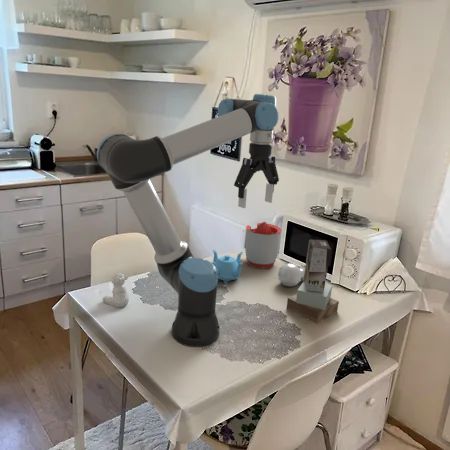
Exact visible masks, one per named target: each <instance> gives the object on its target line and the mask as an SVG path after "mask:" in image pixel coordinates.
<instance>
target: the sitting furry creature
mask: <svg viewBox="0 0 450 450" xmlns="http://www.w3.org/2000/svg"><path fill="white" fill-rule="evenodd" d="M128 278H129V276H128V275H124V274H123V273H122V272H117V273H114V276H112V277H111V280H110V281H111V283H112V285H113V288H112V296H110V295H105V296H103V297H102V302H103V303H104V304H105V305H108V306H111V307H114V308H117V309H118V308H119V309H120V308H122V309H123V308H125V307H126V306H127V305H128V304H129V301H130V298H129V293H128V292H127V289H126V286H125V282H126V280H128Z"/></svg>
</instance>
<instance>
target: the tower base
mask: <svg viewBox="0 0 450 450" xmlns="http://www.w3.org/2000/svg"><path fill="white" fill-rule="evenodd" d="M296 299H297V293H296V294H294V295H291V296H289V297H287V301H286V302H287V303H286V308H285V309H286V310H287V311H290V312H292V313H293V314H296V315H298V316H300V317H301V318H304V319H305V320H307V321H310V322H311V323H314V324H319V323H320V322H323V321H324V320H326V319H328V318H330V317H331V316H333V315H335V314H337V313H338V309H339V304H340V303H339V302H340V301H338V300H336V299H334V298H332V297H330V300H329V302H328V304H327V306H326V308H325V310H322V309H318V308H314V307H310V306H307V305H303V304H299V303H296ZM329 316H330V317H329ZM322 320H323V321H322Z"/></svg>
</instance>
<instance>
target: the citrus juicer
mask: <svg viewBox="0 0 450 450" xmlns="http://www.w3.org/2000/svg"><path fill="white" fill-rule="evenodd" d="M256 225H257V226H256V227H255V228H252V226H251V225H250V224H249V225H246V227H245V228H246V231H245V232H246V233H245V245H244V246H245V247H244V248H245V249H244V251H245V258H246V261H247V263H248V265H249V266H252V267H254V268H258V269H268V268H271V267H273V266H274V265H275V263H276V261H277V260H276V259H277V258H278V254H279V248H280V243H281V242H280V241H281V233H282V229H281V227H280V226H277V225H274V224H273V223H272V224H271V223H267V222H266V221H263V222H257V224H256Z"/></svg>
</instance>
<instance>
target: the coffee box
mask: <svg viewBox="0 0 450 450" xmlns="http://www.w3.org/2000/svg"><path fill="white" fill-rule="evenodd" d="M331 250H332V248H331V246H330V245H329V243H328V240H322V239H311V238H310V239H309V240H308V246H307V254H306V259H305V261H306V262H305V265H304V266H305V274H304V281H303V282H304V284H305V287H306V290H308V291H317V292H324V287H325V284H326V282H327V281H326V280H327V274H328V269H329V263H330V258H331Z"/></svg>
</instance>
